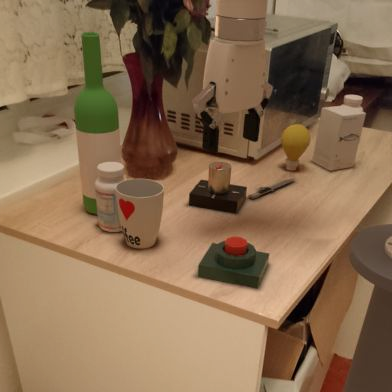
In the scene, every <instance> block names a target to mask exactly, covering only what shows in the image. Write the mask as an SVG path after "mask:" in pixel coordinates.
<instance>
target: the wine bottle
mask: <svg viewBox="0 0 392 392" xmlns="http://www.w3.org/2000/svg"><path fill="white" fill-rule="evenodd" d="M80 37H81V49H82V59H83V60H82V61H83V73H84V87H83V89H82V90H81V91H80V92H79V93H78V95H76V98H75V101H74V105H73V106H74V107H73V109H74V110H73V115H74V124H75V137H76V146H77V156H78V164H79V175H80V185H81V193H82V202H83V203H82V204H83V207H84V208H85V210H86V211H87V212H88V213H90V214H92V215H95V216H96V215H97V216H98V214H97V204H96V193H95V182H96V180H97V179H98V178H99V176H98V170H97V166H98V165H99V164H101V163H104V162H118V163H121V164H122V151H121V136H120V134H121V133H120V132H121V131H120V119H119V107H118V103H117V101H116V100H115V99H116V98H115V97H114V96H113V94H112V93H111V92H110V91H108V90H107V89H106V88H105V86H104V79H103V77H104V76H103V65H102V51H101V50H102V49H101V39H100V38H101V37H100V34H99V33H98V32H91V31H90V32H89V31H87V32H82V33H81V35H80Z"/></svg>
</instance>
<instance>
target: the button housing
mask: <svg viewBox="0 0 392 392" xmlns="http://www.w3.org/2000/svg"><path fill="white" fill-rule="evenodd" d="M269 260H270V253H269V252H265V251H259V250H257V249H256V247H255V245H253V244H252V243H250V242H248V244H247V252H246V254H244V255H239V256H235V255H230V254H227V253H226V252H225V240H222V241H220V242H218V243H217V242H212V243H211V244H210V245H209V247H208V249H207V251H206V252H205V254H204V255H203V257H202V259H201V260H200V262H199V263H198V265H197V270H198V271H197V277H201V278H204V279H209V280H215V281H219V282H224V283H229V284H233V285H239V286H244V287H249V288H254V289H258V288H259V287H260V284H261V282H262V279H263V277H264V275H265V272H266V270H267V267H268V265H269Z"/></svg>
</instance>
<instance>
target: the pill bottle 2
mask: <svg viewBox="0 0 392 392" xmlns="http://www.w3.org/2000/svg"><path fill="white" fill-rule="evenodd" d="M363 99H364V98H363V96H361V95H358V94H345V95H344V96H343V104H341V105H340V106H343V105H347V106H349V107H352V108H355V109H357V110H360V111H362V112H364V109H363V106H361V105H362V104H363Z"/></svg>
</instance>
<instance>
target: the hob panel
mask: <svg viewBox="0 0 392 392" xmlns="http://www.w3.org/2000/svg"><path fill="white" fill-rule="evenodd" d="M247 190H248V187H247V186H244V185H237V184H231V183H230V190H229V192H228V193H225V194H215V193H211V192H210V191H208V180H206V179H200V180H199V181H198V183H197V184H196V185H195V186H194V187H193V188H192V190H191V191H190V192H189V193H188V206H192V207H197V208H203V209H208V210H214V211H219V212H226V213H233V214H237V213H238V211H239V210H240V209H241V207H242V205H243V204H244V202H245V200H246V198H247Z"/></svg>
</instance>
